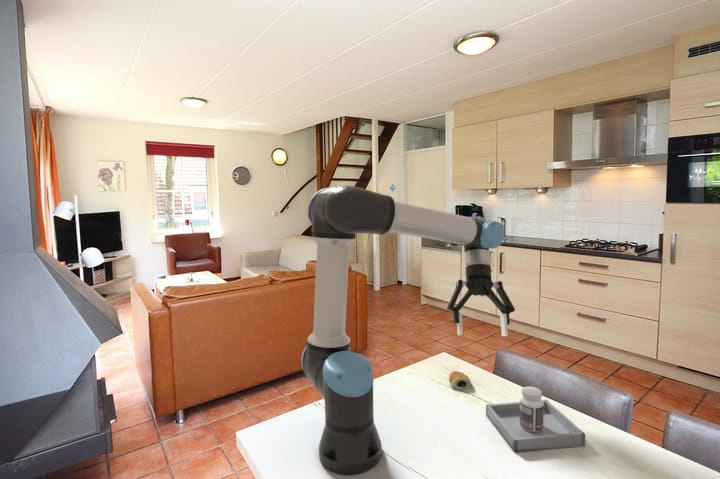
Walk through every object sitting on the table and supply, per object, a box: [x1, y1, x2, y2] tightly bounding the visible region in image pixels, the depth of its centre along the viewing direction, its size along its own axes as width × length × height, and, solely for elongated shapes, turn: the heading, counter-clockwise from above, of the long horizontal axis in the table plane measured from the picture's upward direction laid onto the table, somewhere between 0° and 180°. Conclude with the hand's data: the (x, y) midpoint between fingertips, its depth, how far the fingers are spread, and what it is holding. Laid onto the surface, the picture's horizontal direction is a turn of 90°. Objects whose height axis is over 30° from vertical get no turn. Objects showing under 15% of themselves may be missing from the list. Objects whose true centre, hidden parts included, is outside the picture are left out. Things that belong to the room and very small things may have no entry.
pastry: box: [448, 371, 472, 390], centre depth 126 cm, size 9×7×4 cm
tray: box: [485, 399, 586, 454], centre depth 100 cm, size 18×16×3 cm
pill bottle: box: [519, 386, 544, 432], centre depth 99 cm, size 6×6×10 cm
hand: (482, 335), depth 113 cm, fingers open, 13 cm apart
